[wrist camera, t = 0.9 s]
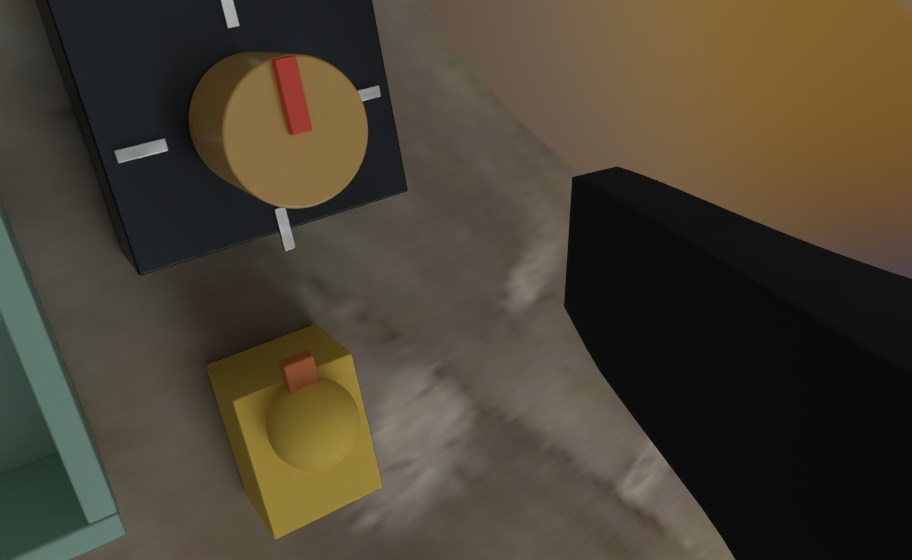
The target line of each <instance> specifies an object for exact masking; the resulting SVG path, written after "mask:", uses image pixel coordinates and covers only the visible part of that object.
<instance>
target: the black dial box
mask: <svg viewBox="0 0 912 560" xmlns="http://www.w3.org/2000/svg"><path fill="white" fill-rule="evenodd" d="M36 3H37V6H38V9H39V11H40V14H41V17H42V20H43V23H44V26H45V29H46V32H47V35H48V38H49V41H50V44H51V47H52V49H53V52H54V55H55V58H56V61H57V64H58V67H59V70H60V73H61V76H62V79H63V82H64V85H65V88H66V90H67V93H68V96H69V99H70V102H71V105H72V108H73V111H74V114H75V117H76V120H77V123H78V126H79V128H80V131H81V134H82V137H83V140H84V143H85V146H86V149H87V152H88V155H89V158H90V161H91V164H92V167H93V169H94V172H95V175H96V178H97V181H98V184H99V187H100V190H101V193H102V196H103V199H104V202H105V205H106V207H107V210H108V213H109V216H110V219H111V222H112V225H113V228H114V231H115V234H116V237H117V240H118V243H119V246H120V248H121V251H122V253H123V254H124V256H125V257H126V258H127V260H128V261H129V262H130V264H131V265H132V266H133V268H134V269H135V270H136V272H137V273H138V274H139V275H144V274H147V273H151V272H154V271H157V270H160V269H163V268H166V267H169V266H173V265H176V264H179V263H182V262H185V261H188V260H192V259H195V258H198V257H201V256H204V255H207V254H210V253H214V252H217V251H220V250H223V249H226V248H229V247H233V246H236V245H239V244H242V243H245V242H248V241H252V240H255V239H258V238H261V237H264V236H267V235H270V234H274V233H277V232H279V234H280V238H281V242H282V245H283V249H284V251H287V250H290V249H293V248H296V247H295V243H294V239H293V235H292V231H291V228H293V227H296V226H299V225H302V224H305V223H308V222H311V221H315V220H318V219H321V218H324V217H327V216H330V215H334V214H337V213H340V212H343V211H346V210H349V209H352V208H356V207H359V206H362V205H365V204H368V203H371V202H375V201H378V200H381V199H384V198H387V197H390V196H393V195H397V194H400V193H403V192H406V191H407V185H406V179H405V174H404V169H403V163H402V158H401V153H400V148H399V142H398V137H397V132H396V126H395V121H394V116H393V110H392V105H391V100H390V95H389V89H388V84H387V79H386V73H385V68H384V63H383V57H382V52H381V47H380V42H379V36H378V31H377V26H376V20H375V15H374V10H373V4H372V0H36ZM242 52H274V53H291V54H303V55H310V56H313V57H316V58H319V59H322V60H324V61H326V62H328V63H330V64H331V65H333V66H335V67H336V68H337V69H338V70H340V71H341V72H342V73H343V74H344V75H345V76H346V77H347V78H348V79H349V80H350V81H351V83H352V84H353V86H354V87H355V88H356V90H357V92H358V94H359V96H360V98H361V100H362V103H363V105H364V108H365V112H366V116H367V123H368V140H367V147H366V151H365V155H364V158H363V161H362V163H361V165H360V167H359V169H358V171H357V173H356V174H355V176H354V178H353V179H352V180H351V181H350V183H349V184H348V185H347V186H346V187H345V188H344V189H343V190H342V191H341V192H340V193H338V194H337V195H335V196H334V197H333V198H331V199H329V200H327V201H325V202H324V203H321V204H318V205H316V206H312V207H307V208H299V209H290V208H282V207H277V206H274V205H271V204H268V203H266V202H264V201H262V200H260V199H258V198H256V197H254V196H253V195H251V194H249V193H247V192H245V191H243V190H242V189H240V188H238V187H236V186H234V185H232V184H231V183H229V182H227V181H225V180H224V179H222V178H220V177H219V176H217V175H216V174H215V173H214V172H213V171H211V170H210V169H209V168H208V167H207V165H206V164H205V163H204V162H203V161H202V159H201V158H200V156H199V155H198V153H197V151H196V149H195V147H194V144H193V141H192V139H191V134H190V130H189V108H190V102H191V99H192V96H193V93H194V90H195V88H196V86H197V84H198V83H199V81H200V80H201V78H202V77H203V76H204V74H205V73H206V72H207V71H208V70H209V69H210V68H211V67H212V66H214V65H215V64H216V63H218V62H219V61H221V60H222V59H224V58H227V57H229V56H231V55H234V54H238V53H242Z"/></svg>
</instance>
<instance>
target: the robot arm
mask: <svg viewBox="0 0 912 560" xmlns="http://www.w3.org/2000/svg"><path fill="white" fill-rule="evenodd" d="M564 307H565V309H566V311H567V313H568V314H569V316H570V318H571V320H572V322H573V324H574V326H575V328H576V330H577V332H578V333H579V335H580V337H581V339H582V341H583V343H584V345H585V346H586V348H587V350H588V352H589V353H590V355H591V357H592V359H593V360H594V362H595V364H596V366H597V367H598V369H599V371H600V372H601V373H602V375H603V376H604V378H605V379H606V380H607V382H608V383H609V385H610V386H611V387H612V389H613V390H614V391H615V393H616V394H617V395H618V397H619V398H620V400H621V401H622V402H623V404H624V405H625V406H626V408H627V409H628V410H629V412H630V413H631V414H632V416H633V417H634V419H635V420H636V421H637V422H638V424H639V425H640V426H641V428H642V429H643V430H644V432H645V433H646V434H647V436H648V437H649V438H650V440H651V441H652V442H653V444H654V445H655V446H656V448H657V449H658V450H659V452H660V453H661V454H662V456H663V457H664V458H665V460H666V461H667V462H668V464H669V465H670V466H671V468H672V469H673V470H674V472H675V473H676V474H677V476H678V477H679V478H680V480H681V481H682V482H683V484H684V485H685V486H686V488H687V489H688V490H689V492H690V493H691V494H692V496H693V497H694V498H695V500H696V501H697V502H698V504H699V505H700V506H701V508H702V509H703V511H704V512H705V513H706V515H707V516H708V518H709V519H710V521H711V522H712V524H713V525H714V526H715V528H716V529H717V531H718V532H719V534H720V535H721V537H722V538H723V540H724V541H725V543H726V545H727V546H728V548H729V550H730V551H731V553H732V555H733V556H734V558H735V560H912V279H910V278H907V277H903V276H900V275H897V274H894V273H891V272H888V271H885V270H882V269H879V268H877V267H874V266H871V265H868V264H865V263H863V262H860V261H857V260H854V259H851V258H848V257H846V256H843V255H840V254H837V253H834V252H832V251H829V250H826V249H823V248H821V247H818V246H815V245H813V244H810V243H808V242H805V241H803V240H800V239H797V238H795V237H792V236H789V235H787V234H785V233H782V232H780V231H777V230H775V229H772V228H770V227H767V226H765V225H762V224H760V223H758V222H755V221H752V220H750V219H748V218H745V217H743V216H741V215H738V214H736V213H734V212H731V211H729V210H726V209H724V208H721V207H719V206H717V205H714V204H712V203H710V202H707V201H705V200H702V199H700V198H698V197H695V196H693V195H691V194H688V193H686V192H684V191H681V190H679V189H676V188H674V187H671V186H669V185H666V184H664V183H661V182H659V181H657V180H654V179H651V178H649V177H646V176H644V175H641V174H638V173H635V172H632V171H629V170H626V169H623V168H620V167H613V168H609V169H605V170H601V171H596V172H592V173H588V174H584V175H579V176H575V177H572V192H571V208H570V224H569V239H568V255H567V270H566V286H565V301H564Z"/></svg>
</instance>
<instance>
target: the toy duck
mask: <svg viewBox="0 0 912 560" xmlns="http://www.w3.org/2000/svg"><path fill="white" fill-rule="evenodd" d="M206 369H207V372H208V375H209V378H210V381H211V384H212V388H213V391H214V394H215V397H216V400H217V403H218V407H219V410H220V413H221V416H222V419H223V422H224V425H225V429H226V432H227V435H228V438H229V441H230V444H231V447H232V451H233V454H234V457H235V460H236V463H237V466H238V470H239V473H240V476H241V479H242V482H243V485H244V488H245V492H246V494H247V496H248V497H249V499H250V500H251V502H252V504H253V505H254V507H255V508H256V510H257V512H258V513H259V515H260V516H261V518H262V520H263V521H264V523H265V524H266V526H267V528H268V529H269V531H270V532H271V534H272V535H273V537H274V539H278V538H280V537H282V536H284V535H286V534H288V533H290V532H292V531H295V530H297V529H299V528H301V527H303V526H305V525H307V524H309V523H311V522H313V521H315V520H317V519H319V518H321V517H323V516H325V515H327V514H329V513H331V512H333V511H335V510H337V509H339V508H341V507H343V506H345V505H347V504H349V503H351V502H353V501H356V500H358V499H360V498H362V497H364V496H366V495H368V494H370V493H372V492H374V491H376V490H378V489H380V488H382V487H383V486H382V481H381V477H380V473H379V469H378V464H377V460H376V456H375V452H374V448H373V443H372V439H371V435H370V431H369V426H368V422H367V418H366V414H365V409H364V405H363V401H362V397H361V392H360V388H359V384H358V380H357V376H356V371H355V367H354V363H353V359H352V354H351V353H350V352H349V351H347V350H346V349H345V348H344V347H342V346H341V345H340V344H339V343H338V342H336V341H335V340H334V339H333V338H331V337H330V336H329V335H328V334H326V333H325V332H324V331H323V330H322V329H320V328H319V327H318V326H317V325H315V324H313V325H311V326H308V327H306V328H303V329H300V330H298V331H295V332H292V333H290V334H287V335H284V336H282V337H279V338H276V339H274V340H271V341H268V342H266V343H263V344H260V345H258V346H255V347H253V348H250V349H247V350H245V351H242V352H239V353H237V354H234V355H231V356H229V357H226V358H223V359H221V360H218V361H215V362H213V363H210V364H207V365H206Z"/></svg>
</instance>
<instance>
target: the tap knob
mask: <svg viewBox="0 0 912 560" xmlns="http://www.w3.org/2000/svg"><path fill="white" fill-rule="evenodd" d="M189 130H190V134H191V139H192V141H193V144H194V147H195V149H196V151H197V153H198V155H199V156H200V158H201V159H202V161H203V162H204V163H205V164H206V165H207V167H208V168H209V169H210V170H211V171H213V172H214V173H215V174H216V175H217V176H219V177H220V178H222V179H224V180H225V181H227V182H229V183H231V184H232V185H234V186H236V187H238V188H240V189H242V190H243V191H245V192H247V193H249V194H251V195H253V196H254V197H256V198H258V199H260V200H262V201H264V202H266V203H268V204H271V205H274V206H277V207H282V208H290V209H299V208H307V207H312V206H316V205H318V204H321V203H324V202H325V201H327V200H329V199H331V198H333V197H334V196H335V195H337V194H338V193H340V192H341V191H342V190H343V189H344V188H345V187H346V186H347V185H348V184H349V183H350V181H351V180H352V179H353V178H354V176H355V174H356V173H357V171H358V169H359V167H360V165H361V163H362V161H363V158H364V155H365V151H366V147H367V140H368V123H367V116H366V112H365V108H364V105H363V103H362V100H361V98H360V96H359V94H358V92H357V90H356V88H355V87H354V86H353V84H352V83H351V81H350V80H349V79H348V78H347V77H346V76H345V75H344V74H343V73H342V72H341V71H340V70H338V69H337V68H336V67H335V66H333V65H331V64H330V63H328V62H326V61H324V60H322V59H319V58H316V57H313V56H310V55H303V54H291V53H274V52H242V53H238V54H234V55H231V56H229V57H227V58H224V59H222V60H221V61H219V62H218V63H216V64H215V65H214V66H212V67H211V68H210V69H209V70H208V71H207V72H206V73H205V74H204V76H203V77H202V78H201V80H200V81H199V83H198V84H197V86H196V88H195V90H194V93H193V96H192V99H191V102H190V108H189Z"/></svg>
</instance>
